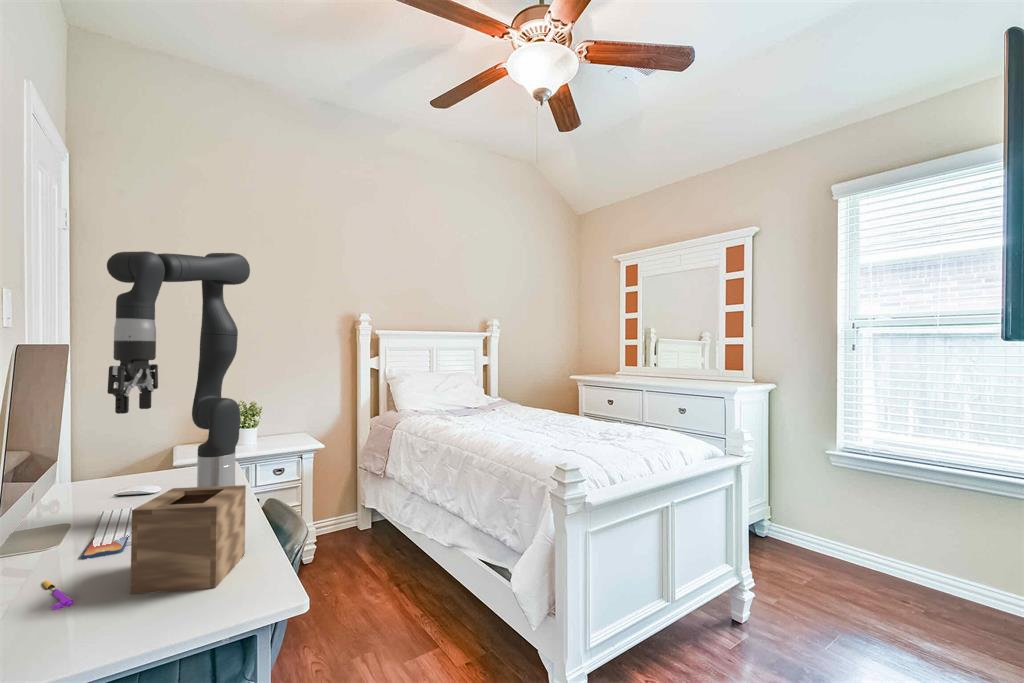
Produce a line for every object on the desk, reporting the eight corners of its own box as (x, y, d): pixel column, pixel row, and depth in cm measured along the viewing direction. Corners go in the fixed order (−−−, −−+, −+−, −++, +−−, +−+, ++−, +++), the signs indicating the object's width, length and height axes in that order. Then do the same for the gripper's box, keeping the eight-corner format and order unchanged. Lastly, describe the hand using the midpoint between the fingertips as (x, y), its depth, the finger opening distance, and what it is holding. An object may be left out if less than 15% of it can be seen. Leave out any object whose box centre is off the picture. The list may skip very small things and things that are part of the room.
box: (172, 560, 106) (173, 488, 107) (244, 555, 109) (245, 485, 109) (130, 594, 92) (131, 510, 92) (215, 587, 94) (216, 506, 94)
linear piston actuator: (75, 605, 88) (49, 582, 97) (73, 599, 88) (47, 577, 97) (56, 615, 86) (31, 591, 95) (54, 609, 86) (29, 585, 94)
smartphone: (132, 534, 123) (132, 529, 123) (122, 553, 110) (122, 549, 110) (94, 540, 119) (94, 535, 119) (80, 561, 106) (80, 556, 106)
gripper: (134, 338, 102) (133, 414, 102) (170, 340, 116) (169, 407, 116) (94, 338, 101) (93, 415, 100) (136, 340, 115) (134, 407, 114)
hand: (134, 411), depth 108 cm, fingers open, 8 cm apart
